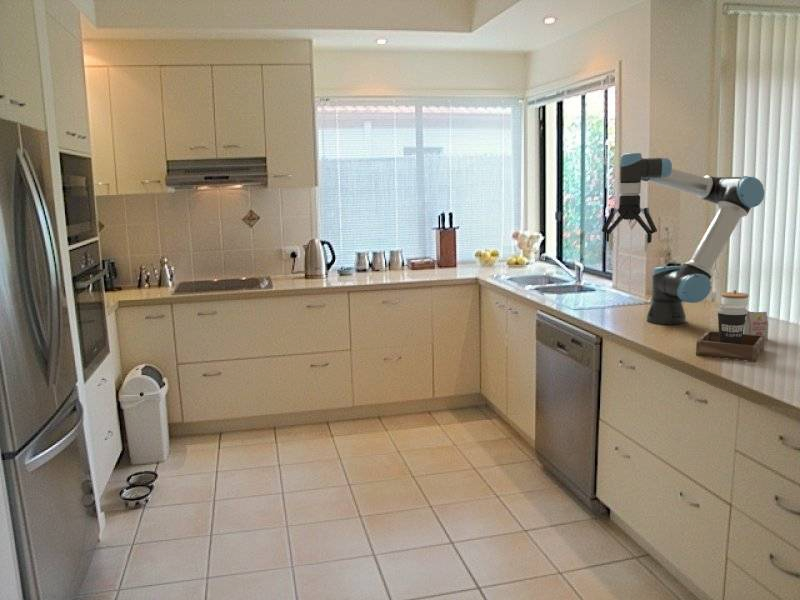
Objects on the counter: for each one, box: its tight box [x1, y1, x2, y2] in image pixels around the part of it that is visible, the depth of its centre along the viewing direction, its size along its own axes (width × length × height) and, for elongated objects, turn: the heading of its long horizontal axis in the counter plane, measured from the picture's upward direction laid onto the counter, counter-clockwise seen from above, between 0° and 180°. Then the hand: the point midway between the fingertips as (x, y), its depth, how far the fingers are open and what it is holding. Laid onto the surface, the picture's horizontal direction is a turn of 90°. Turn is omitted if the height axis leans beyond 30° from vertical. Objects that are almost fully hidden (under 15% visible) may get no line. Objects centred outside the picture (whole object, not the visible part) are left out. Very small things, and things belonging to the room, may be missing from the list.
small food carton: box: [743, 311, 769, 341], centre depth 252 cm, size 4×7×10 cm, turn 90°
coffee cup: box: [716, 303, 748, 344], centre depth 233 cm, size 10×10×15 cm
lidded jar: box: [720, 289, 749, 308], centre depth 304 cm, size 11×11×9 cm
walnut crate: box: [695, 330, 765, 363], centre depth 233 cm, size 18×18×5 cm
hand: (628, 251), depth 264 cm, fingers open, 13 cm apart
